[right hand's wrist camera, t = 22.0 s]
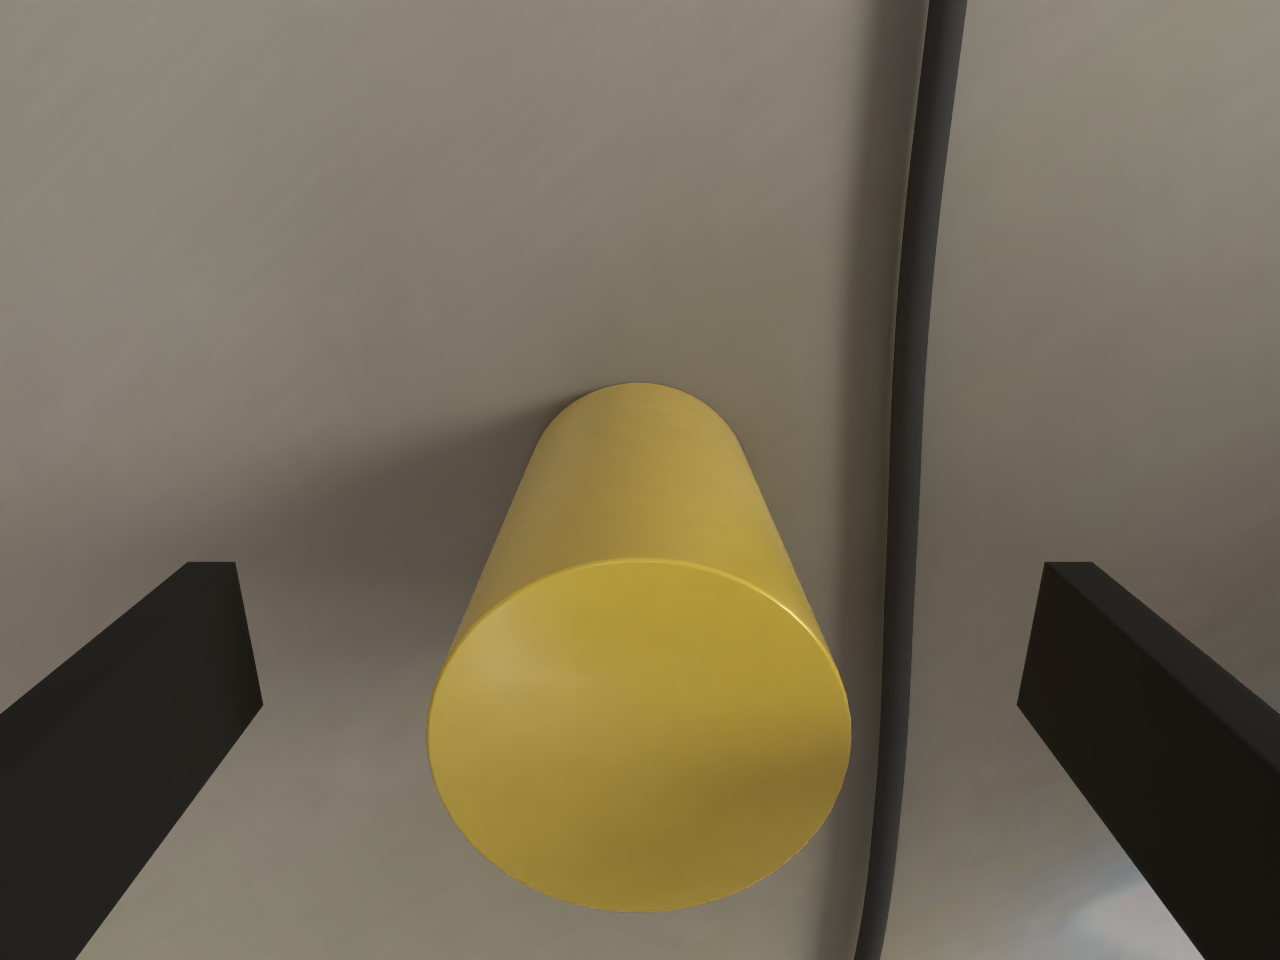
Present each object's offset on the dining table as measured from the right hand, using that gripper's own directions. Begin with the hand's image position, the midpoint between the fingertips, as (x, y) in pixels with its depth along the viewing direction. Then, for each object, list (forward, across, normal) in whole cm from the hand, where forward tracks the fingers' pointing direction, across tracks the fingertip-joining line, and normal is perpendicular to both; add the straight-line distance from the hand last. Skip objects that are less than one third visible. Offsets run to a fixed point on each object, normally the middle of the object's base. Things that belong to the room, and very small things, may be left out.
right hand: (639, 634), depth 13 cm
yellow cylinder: (+8, 0, 0) cm, 8 cm away
